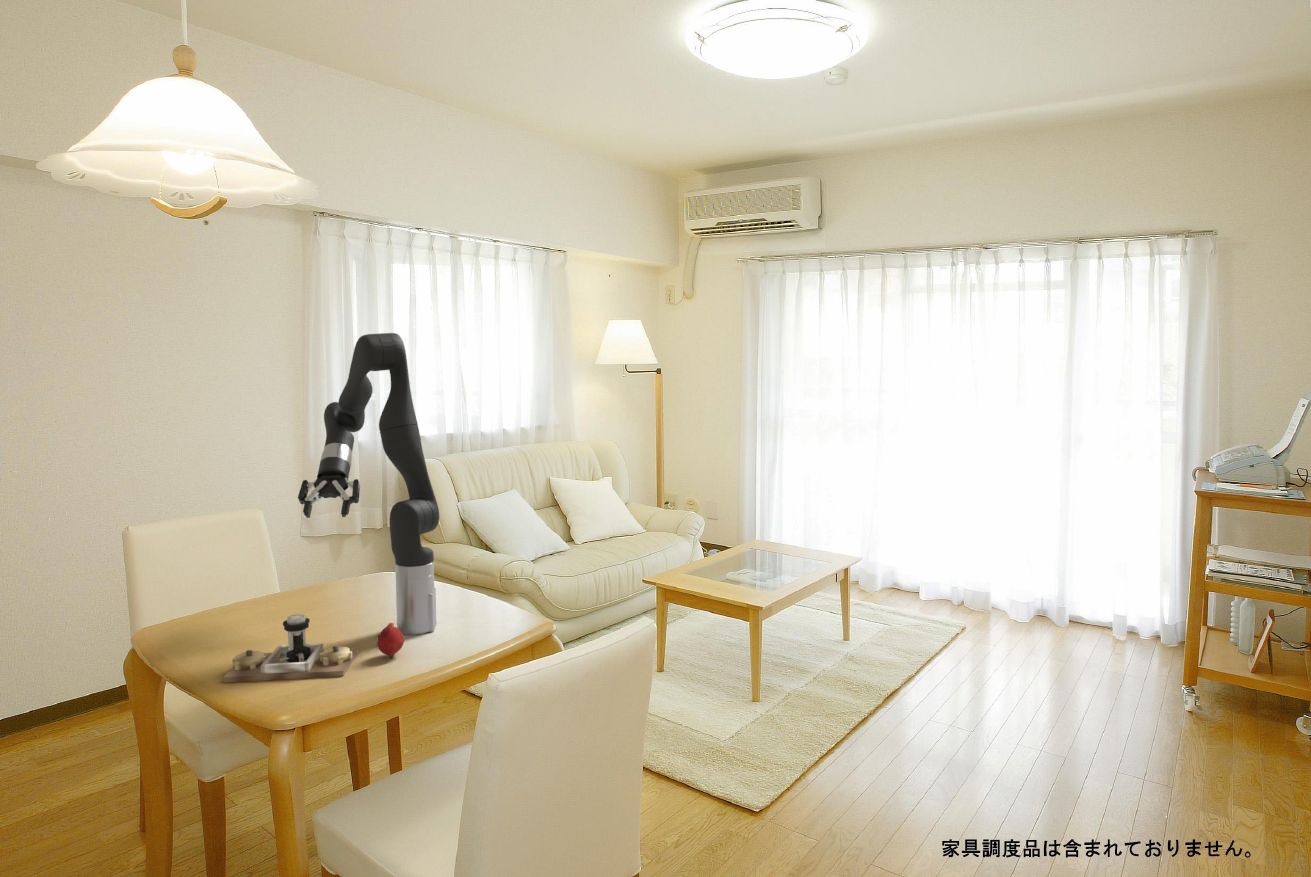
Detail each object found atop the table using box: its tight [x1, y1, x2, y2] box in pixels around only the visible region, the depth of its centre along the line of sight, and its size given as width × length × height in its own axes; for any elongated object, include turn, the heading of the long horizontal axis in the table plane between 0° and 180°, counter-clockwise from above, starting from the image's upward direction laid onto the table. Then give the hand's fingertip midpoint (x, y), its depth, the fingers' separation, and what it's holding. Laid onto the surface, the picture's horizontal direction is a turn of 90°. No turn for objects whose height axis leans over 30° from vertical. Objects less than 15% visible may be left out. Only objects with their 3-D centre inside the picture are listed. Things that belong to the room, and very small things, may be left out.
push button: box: [280, 613, 311, 663], centre depth 169 cm, size 7×5×10 cm
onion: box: [376, 621, 405, 658], centre depth 175 cm, size 6×6×8 cm
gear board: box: [222, 643, 358, 684], centre depth 169 cm, size 25×13×4 cm, turn 99°
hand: (325, 515), depth 192 cm, fingers open, 8 cm apart
